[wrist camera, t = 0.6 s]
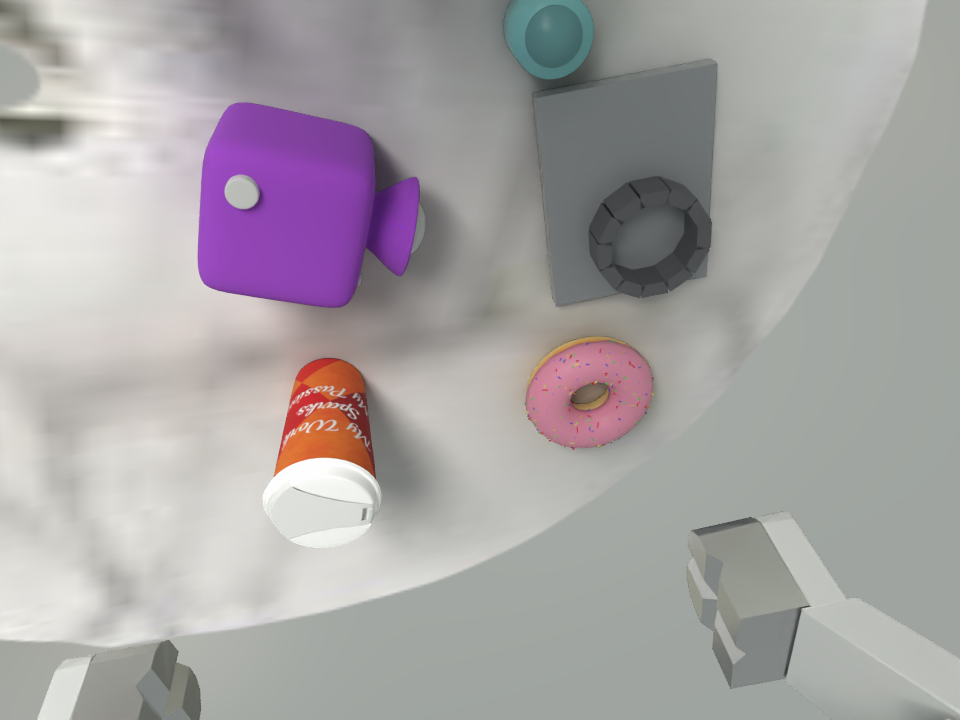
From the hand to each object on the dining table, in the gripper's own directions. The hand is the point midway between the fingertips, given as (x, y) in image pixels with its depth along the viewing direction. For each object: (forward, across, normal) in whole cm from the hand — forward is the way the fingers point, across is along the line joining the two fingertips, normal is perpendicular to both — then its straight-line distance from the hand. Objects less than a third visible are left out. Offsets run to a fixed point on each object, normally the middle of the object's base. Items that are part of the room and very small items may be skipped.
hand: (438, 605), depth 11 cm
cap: (+40, -10, +1) cm, 42 cm away
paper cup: (+41, +10, +25) cm, 49 cm away
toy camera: (+41, +6, +8) cm, 42 cm away
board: (+40, -15, +13) cm, 45 cm away
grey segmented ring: (+39, -16, +16) cm, 45 cm away
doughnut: (+41, -11, +30) cm, 52 cm away
